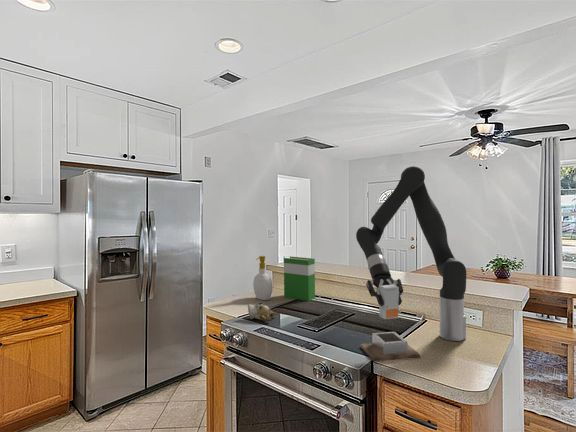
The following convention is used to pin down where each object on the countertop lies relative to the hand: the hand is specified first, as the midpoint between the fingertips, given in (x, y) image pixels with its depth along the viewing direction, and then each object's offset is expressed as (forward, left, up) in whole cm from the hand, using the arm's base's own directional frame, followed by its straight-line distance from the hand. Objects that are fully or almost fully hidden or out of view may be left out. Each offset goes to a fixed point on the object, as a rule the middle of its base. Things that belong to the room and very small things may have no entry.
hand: (391, 304), depth 131 cm
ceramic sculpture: (+45, -49, -19) cm, 69 cm away
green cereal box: (+19, -85, -19) cm, 89 cm away
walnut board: (0, -2, -19) cm, 19 cm away
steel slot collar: (0, -2, -18) cm, 18 cm away
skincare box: (0, -2, -6) cm, 6 cm away
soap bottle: (+42, -86, -19) cm, 97 cm away
